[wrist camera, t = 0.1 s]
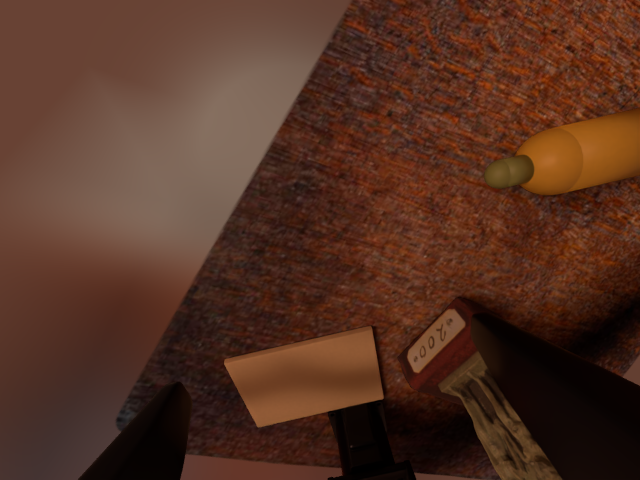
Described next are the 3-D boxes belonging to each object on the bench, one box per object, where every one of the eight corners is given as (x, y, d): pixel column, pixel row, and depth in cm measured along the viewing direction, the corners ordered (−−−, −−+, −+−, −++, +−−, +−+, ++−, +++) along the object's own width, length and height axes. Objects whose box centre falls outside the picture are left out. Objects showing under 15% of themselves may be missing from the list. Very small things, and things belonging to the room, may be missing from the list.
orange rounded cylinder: (467, 198, 23) (506, 218, 19) (468, 140, 21) (513, 148, 16) (630, 160, 23) (706, 172, 18) (648, 98, 21) (738, 96, 16)
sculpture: (453, 287, 27) (620, 473, 13) (508, 317, 29) (696, 500, 16) (392, 354, 30) (475, 559, 16) (446, 376, 32) (557, 570, 19)
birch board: (382, 394, 33) (384, 399, 32) (258, 422, 33) (257, 427, 32) (370, 325, 28) (372, 329, 27) (225, 358, 28) (223, 363, 27)
